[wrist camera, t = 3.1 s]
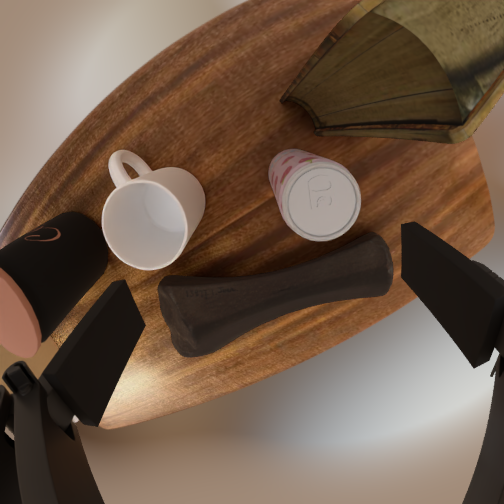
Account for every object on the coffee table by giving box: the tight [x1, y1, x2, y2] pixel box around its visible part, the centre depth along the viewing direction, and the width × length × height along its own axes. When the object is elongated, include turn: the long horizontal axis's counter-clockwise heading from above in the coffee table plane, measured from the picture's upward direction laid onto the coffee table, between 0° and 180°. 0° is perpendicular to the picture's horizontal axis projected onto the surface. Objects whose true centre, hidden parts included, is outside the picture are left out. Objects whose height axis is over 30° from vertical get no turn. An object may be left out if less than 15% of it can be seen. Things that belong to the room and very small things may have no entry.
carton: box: [0, 335, 59, 394], centre depth 33 cm, size 15×13×18 cm
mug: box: [102, 150, 205, 270], centre depth 27 cm, size 12×8×10 cm
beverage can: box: [268, 149, 361, 241], centre depth 25 cm, size 6×6×15 cm
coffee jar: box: [0, 212, 108, 358], centre depth 27 cm, size 11×11×18 cm
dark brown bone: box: [158, 232, 393, 357], centre depth 33 cm, size 11×10×28 cm
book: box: [280, 0, 504, 144], centre depth 15 cm, size 16×6×25 cm, turn 138°
